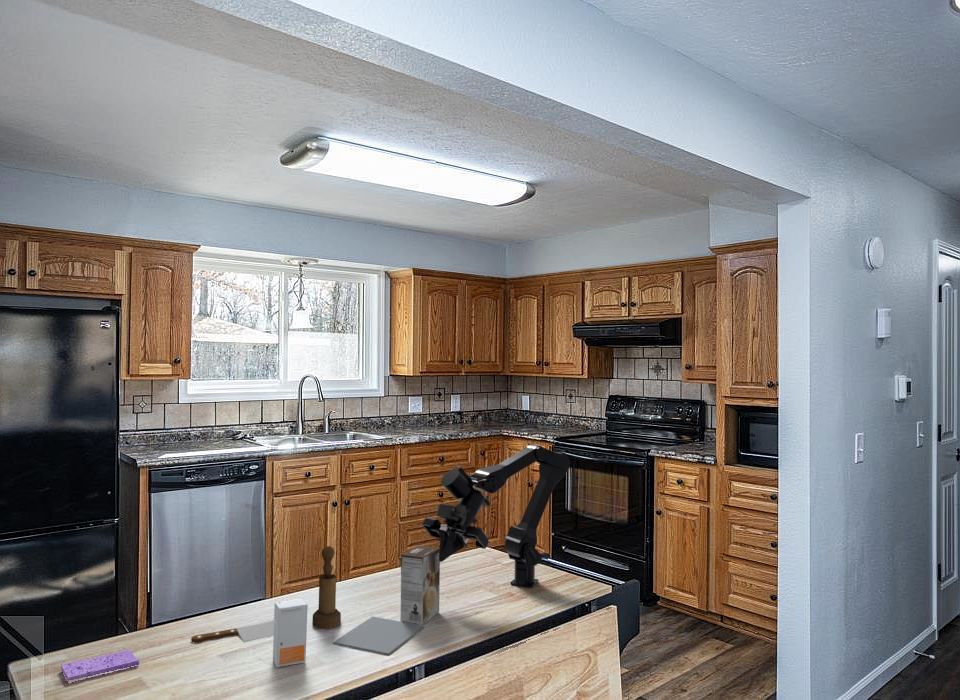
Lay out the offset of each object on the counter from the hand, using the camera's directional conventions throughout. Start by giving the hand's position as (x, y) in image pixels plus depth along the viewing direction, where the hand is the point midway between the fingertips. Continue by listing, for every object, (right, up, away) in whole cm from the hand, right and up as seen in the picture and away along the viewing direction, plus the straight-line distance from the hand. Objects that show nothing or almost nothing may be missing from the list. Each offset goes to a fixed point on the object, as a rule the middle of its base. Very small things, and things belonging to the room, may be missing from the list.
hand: (439, 560), depth 171 cm
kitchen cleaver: (-42, -12, -17) cm, 47 cm away
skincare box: (-29, -11, -31) cm, 44 cm away
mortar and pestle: (-26, -12, -11) cm, 30 cm away
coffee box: (-4, -12, -6) cm, 14 cm away
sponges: (-65, -11, -36) cm, 75 cm away
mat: (-12, -12, -17) cm, 24 cm away
